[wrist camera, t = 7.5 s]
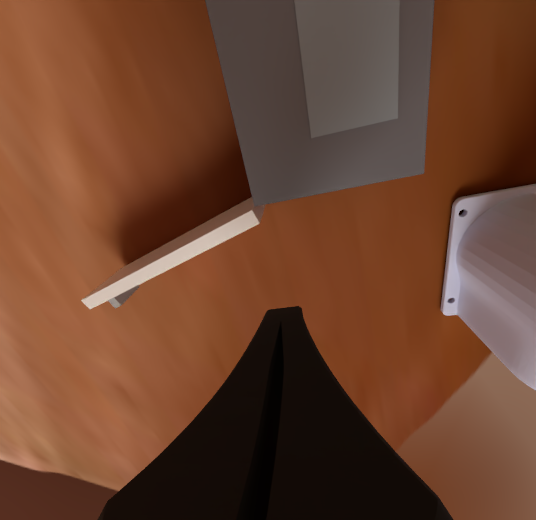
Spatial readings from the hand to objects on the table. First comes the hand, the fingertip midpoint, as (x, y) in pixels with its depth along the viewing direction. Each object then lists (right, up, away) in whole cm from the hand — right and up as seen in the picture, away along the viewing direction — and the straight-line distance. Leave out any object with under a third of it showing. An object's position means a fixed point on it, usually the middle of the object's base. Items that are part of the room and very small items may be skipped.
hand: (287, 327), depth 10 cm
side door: (-7, +4, +9) cm, 12 cm away
